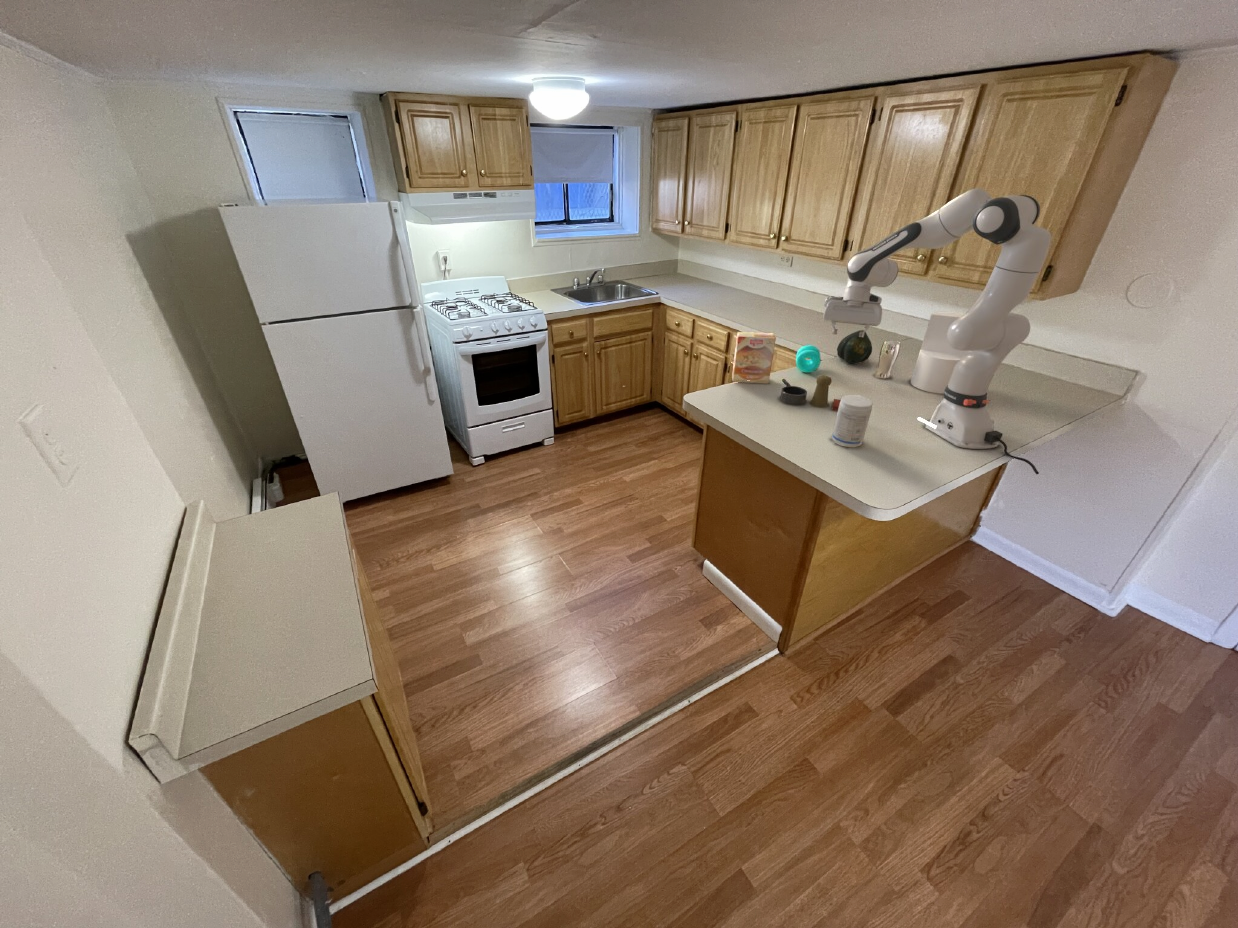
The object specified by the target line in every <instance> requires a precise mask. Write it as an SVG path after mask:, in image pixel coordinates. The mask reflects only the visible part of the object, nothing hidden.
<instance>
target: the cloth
mask: <svg viewBox="0 0 1238 928" xmlns="http://www.w3.org/2000/svg"><path fill="white" fill-rule="evenodd" d="M840 401H841V399H838V398H833V403H832V410H831V411H835V412H838V409H839V405H840Z"/></svg>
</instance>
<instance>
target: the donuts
mask: <svg viewBox="0 0 1238 928" xmlns="http://www.w3.org/2000/svg"><path fill="white" fill-rule="evenodd" d="M795 359H796V360H795V364H796V368H797V369H798V370H799V371H801V372H803V373H807V374H808V373H813V372H815V371H816V370H818V369H819V367H820V365H821V351H820V349H819V348H818V347H816V346H815V345H813V344H807V345H803V346H801V347H800V348H799V349H798V350H797V352H796V355H795Z"/></svg>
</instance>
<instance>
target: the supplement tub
mask: <svg viewBox="0 0 1238 928" xmlns="http://www.w3.org/2000/svg"><path fill="white" fill-rule="evenodd" d="M840 400H841V401H840V405H839V409H838V411H837V413H836V417H835V421H834V425H833V430H832V435H831V439H832V441H833V442H834V443H835V444H837V445H838V446H842V447H846V448H857V447H859V446H861V445H862V444H863V441H864V440H865V439H864V438H865V435H866V431H867V427H868V424H869V420H870V416H871V413H872V410H873V405H874V403H873V401H872V400H871V398H870V399H869V398H868V397H866V396H863V395H858V394H850V395H849V394H848V395H847V394H846V395H843V396H842V397H841V399H840Z"/></svg>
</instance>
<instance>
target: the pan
mask: <svg viewBox="0 0 1238 928" xmlns="http://www.w3.org/2000/svg"><path fill="white" fill-rule="evenodd" d="M807 395H808V391H807V389H806V388H803V387H802V386H801V387H800V386H795V385H791V386H786V385H785V386H783V387H782V388H781V391H780V395H779V400H780V402H782V403H783V404H786V405H790V406H802V405H804V404H805V403H806V400H807Z"/></svg>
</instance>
